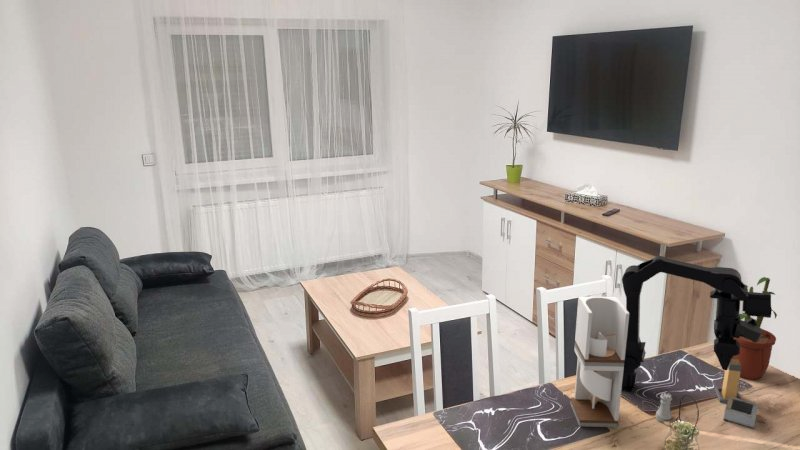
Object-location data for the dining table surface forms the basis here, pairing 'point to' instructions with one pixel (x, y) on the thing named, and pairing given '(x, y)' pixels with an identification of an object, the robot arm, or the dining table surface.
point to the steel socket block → (741, 412)
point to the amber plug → (731, 379)
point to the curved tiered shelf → (599, 360)
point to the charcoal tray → (720, 397)
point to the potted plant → (755, 346)
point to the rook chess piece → (664, 408)
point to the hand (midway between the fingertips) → (724, 362)
